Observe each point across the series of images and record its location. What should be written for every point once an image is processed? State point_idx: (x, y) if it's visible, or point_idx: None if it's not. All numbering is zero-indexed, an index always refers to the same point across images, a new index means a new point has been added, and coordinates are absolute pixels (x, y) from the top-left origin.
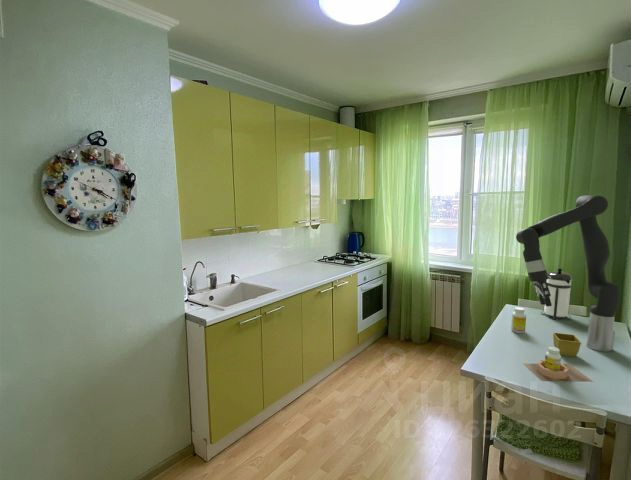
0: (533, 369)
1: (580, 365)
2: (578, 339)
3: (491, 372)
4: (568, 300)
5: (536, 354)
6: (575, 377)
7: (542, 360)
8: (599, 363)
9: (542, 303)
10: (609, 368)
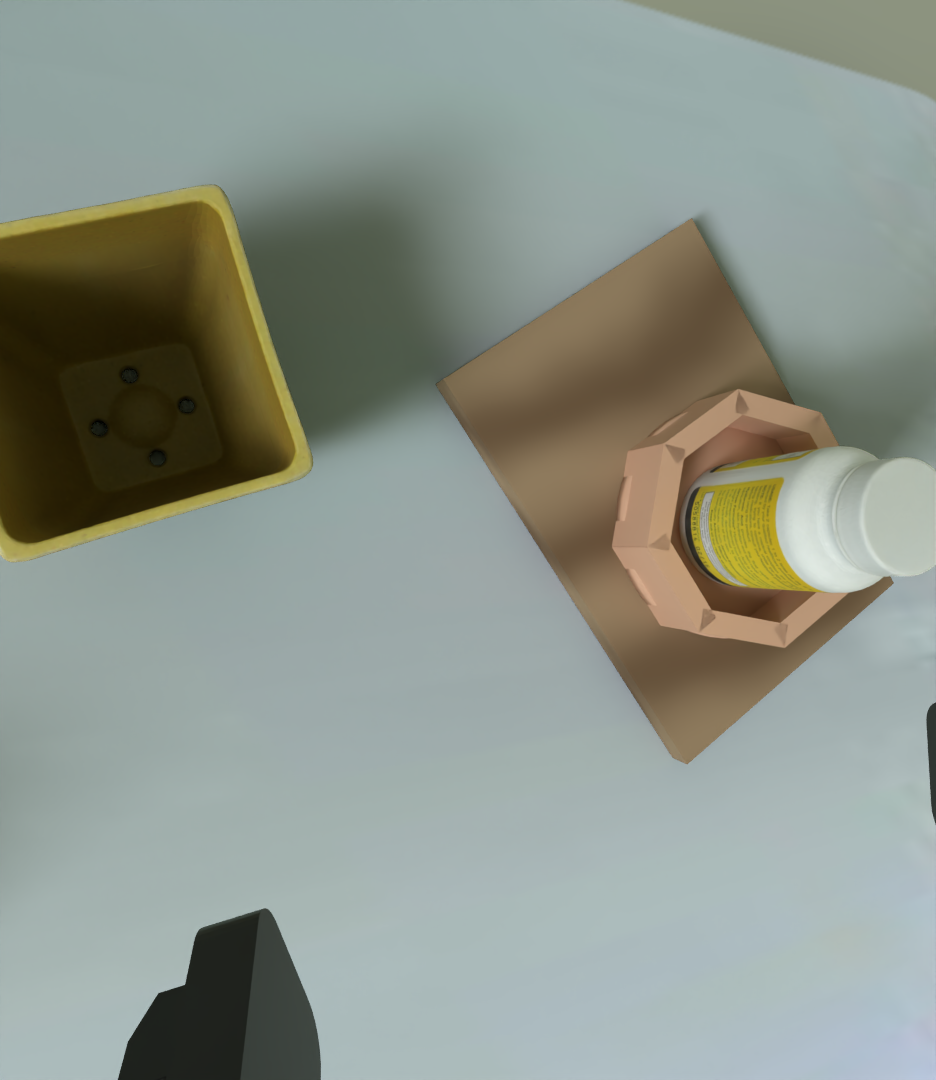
0: (747, 664)
1: (341, 281)
2: (104, 207)
3: (906, 934)
4: None
5: (318, 691)
6: (701, 345)
7: (698, 612)
8: (160, 86)
9: (308, 1038)
10: (242, 16)
